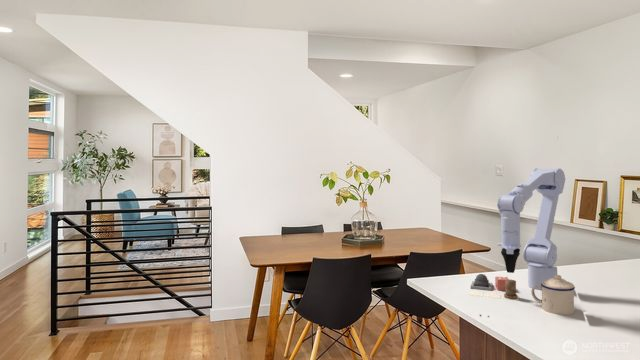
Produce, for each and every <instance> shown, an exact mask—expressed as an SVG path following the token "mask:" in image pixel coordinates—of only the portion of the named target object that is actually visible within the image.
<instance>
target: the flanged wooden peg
mask: <svg viewBox="0 0 640 360" xmlns="http://www.w3.org/2000/svg"><path fill="white" fill-rule="evenodd" d="M503 296H504V297H505V298H507V299H506V300H510V299H517V298H518V299H519V295H518V294H517V281H516V280H514V279H509V280H506V291H505V293H504V294H503Z"/></svg>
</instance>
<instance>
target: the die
mask: <svg viewBox="0 0 640 360" xmlns="http://www.w3.org/2000/svg"><path fill="white" fill-rule="evenodd" d="M494 280H495V282H494V286H495V289H496V290H497V291H501V292H502V291H503V292H506V280H510V278H508V276H495V277H494Z"/></svg>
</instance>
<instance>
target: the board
mask: <svg viewBox="0 0 640 360" xmlns="http://www.w3.org/2000/svg"><path fill="white" fill-rule="evenodd" d="M469 286H470V289H472V290H470V291H469V292H468V296H473V297H474V296H475V297H483V296H484V293H485V292H481V290H482V291H490V292H486V294H485V297H486V298H492V299H493V298H494V299H501V297H502V296H501V295H502V294H501V293H495V292H494V293H492V292H491V291H492V290H493V282H489V287H479V286H475V280H472V282H471V284H470V285H469ZM473 290H479V291H473ZM502 299H503V300H508V299H507V298H505V297H504V295H503V297H502ZM509 300H510V301H511V300H512V301H519V297H518V298H517V299H509Z"/></svg>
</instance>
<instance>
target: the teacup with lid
mask: <svg viewBox="0 0 640 360" xmlns="http://www.w3.org/2000/svg"><path fill="white" fill-rule="evenodd" d="M541 286H542V287H541ZM541 286H535V287H533V288H531V296H532V298H533V299H534V300H535V301H536V302H538V303H541V309H542V310H543V311H545V312H546V313H549V314H552V315H562V316H563V315H564V316H567V315H568V316H569V315H573V314H574V313H575V289H576V287H575V285H574V284H573V283H572V282H570V281H567V280H566V279H564V278H562V275H560V274H557V275H554V278H550V279H549V280H544V281H542V283H541ZM537 289H542V290H541V299H540V298H538V297H537V295H536V294H535V290H537Z"/></svg>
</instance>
